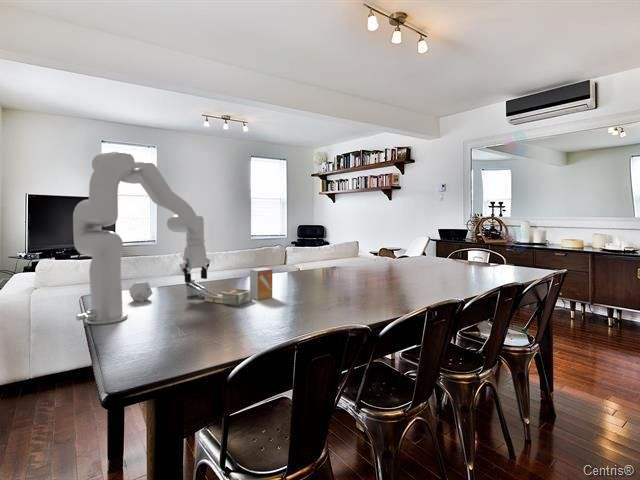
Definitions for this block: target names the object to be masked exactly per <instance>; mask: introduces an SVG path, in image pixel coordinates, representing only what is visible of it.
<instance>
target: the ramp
mask: <svg viewBox="0 0 640 480" xmlns="http://www.w3.org/2000/svg"><path fill="white" fill-rule="evenodd" d="M184 283H185V284H184V285H185V287H186V297H189V298H191V297H194V296H198V298H199V299H203V298H204V299H205V295H206V296H213V295H214V296H217V293H215V292H213V291H212V290H210V289H208V288H206V287H204V286H203V285H201V284H199V283H197V282H195V279H191V282H190V283H189V282H185V281H184Z"/></svg>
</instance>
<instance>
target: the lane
mask: <svg viewBox="0 0 640 480" xmlns="http://www.w3.org/2000/svg"><path fill="white" fill-rule="evenodd" d="M235 291H237V292H238V293H239V294H231V293H230V292H225V291H218V294H217V293H216V294H217V296H214V295H212V296H206V295H205V297H204V301H205V302H210V303H211V302H212V303H218V304H223V305H230V306H237V307H238V306H241V305H244V304H246V303H249V302H252V301H253V299H252V290H250V289H243V288H236V289H235Z"/></svg>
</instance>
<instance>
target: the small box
mask: <svg viewBox="0 0 640 480" xmlns="http://www.w3.org/2000/svg"><path fill="white" fill-rule="evenodd" d="M249 290H252V300H256V301H260V300H265V299H271V298H273V269H272V268H268V267H260V268H258V267H257V268H251V269H249Z"/></svg>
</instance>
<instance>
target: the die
mask: <svg viewBox="0 0 640 480" xmlns="http://www.w3.org/2000/svg"><path fill="white" fill-rule="evenodd" d="M128 291H129V292H128V293H129V296H130V297H131V299H132V300H133V301H134V302H140V303H144V302H145V301H147V300H148V299H149V298H150V297H151V296H152V295H153V290H152V287H151V286H150V284H149V282H147V281H137V282H135V283H133V284H132V286H130V288H129V289H128Z"/></svg>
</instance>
